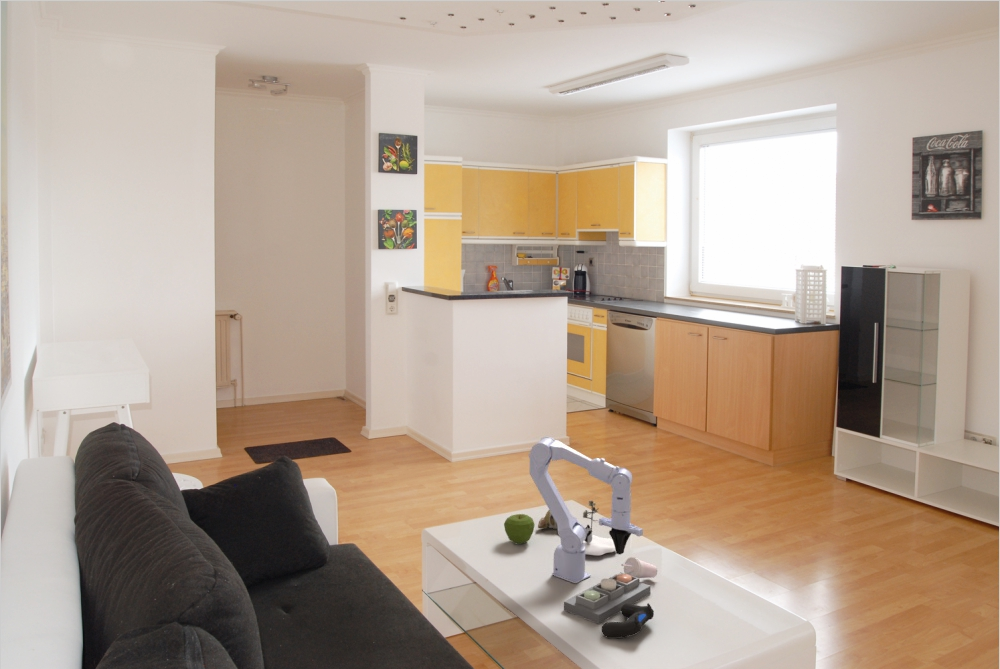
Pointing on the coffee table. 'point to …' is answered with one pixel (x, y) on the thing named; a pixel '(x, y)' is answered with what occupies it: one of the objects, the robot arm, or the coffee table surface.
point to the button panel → (607, 600)
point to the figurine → (596, 538)
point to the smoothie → (639, 568)
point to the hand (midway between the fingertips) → (619, 553)
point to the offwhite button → (608, 584)
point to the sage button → (592, 595)
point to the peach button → (624, 578)
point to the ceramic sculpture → (548, 521)
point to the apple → (519, 528)
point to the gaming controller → (628, 621)
